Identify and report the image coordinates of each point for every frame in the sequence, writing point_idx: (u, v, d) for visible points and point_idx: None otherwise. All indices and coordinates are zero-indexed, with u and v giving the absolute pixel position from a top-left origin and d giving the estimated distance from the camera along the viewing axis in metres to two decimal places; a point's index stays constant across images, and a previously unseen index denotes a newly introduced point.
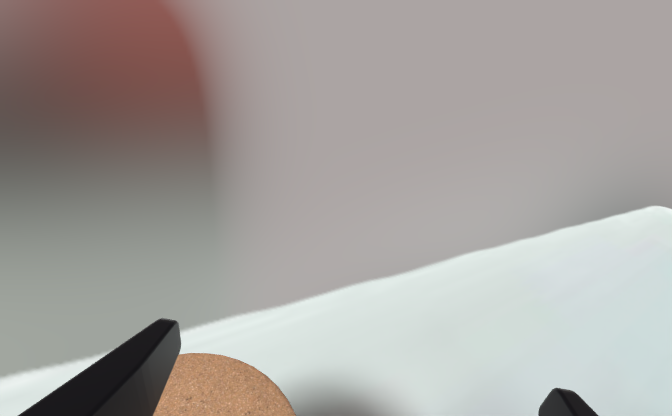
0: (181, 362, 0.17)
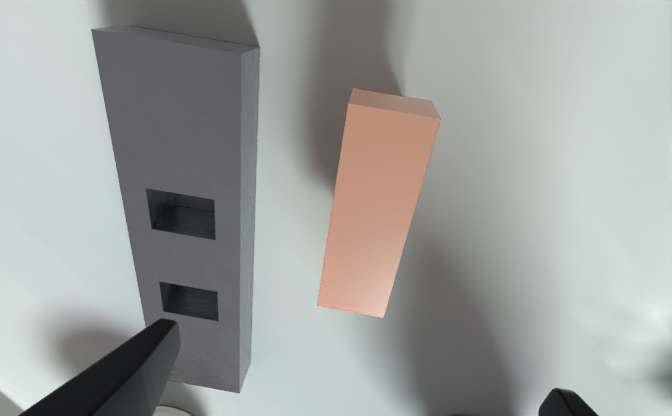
0: None
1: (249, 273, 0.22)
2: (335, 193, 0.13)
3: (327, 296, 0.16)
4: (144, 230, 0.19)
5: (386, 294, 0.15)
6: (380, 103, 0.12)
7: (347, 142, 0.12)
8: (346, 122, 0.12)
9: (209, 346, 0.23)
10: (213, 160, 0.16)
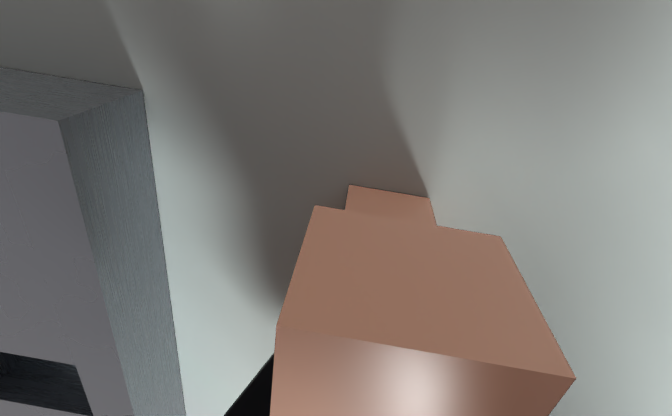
0: None
1: None
2: None
3: None
4: None
5: None
6: (380, 292, 0.04)
7: (286, 402, 0.04)
8: (277, 364, 0.04)
9: None
10: (60, 306, 0.09)
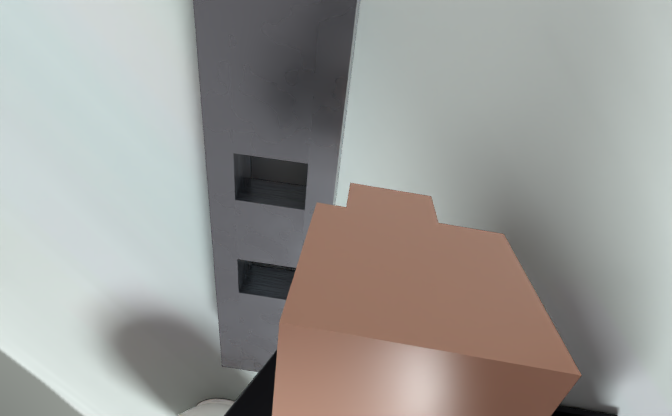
0: None
1: None
2: None
3: None
4: (227, 202, 0.17)
5: None
6: (383, 289, 0.04)
7: (288, 400, 0.04)
8: (280, 361, 0.04)
9: None
10: (312, 117, 0.15)
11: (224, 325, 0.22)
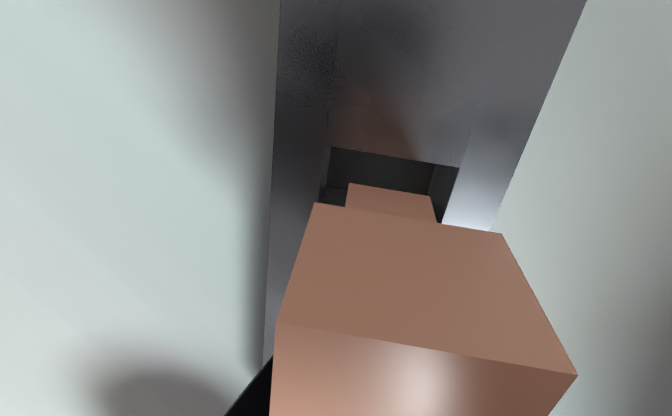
0: None
1: None
2: None
3: None
4: (300, 228, 0.10)
5: None
6: (380, 288, 0.04)
7: (285, 400, 0.04)
8: (277, 361, 0.04)
9: None
10: (486, 82, 0.08)
11: None
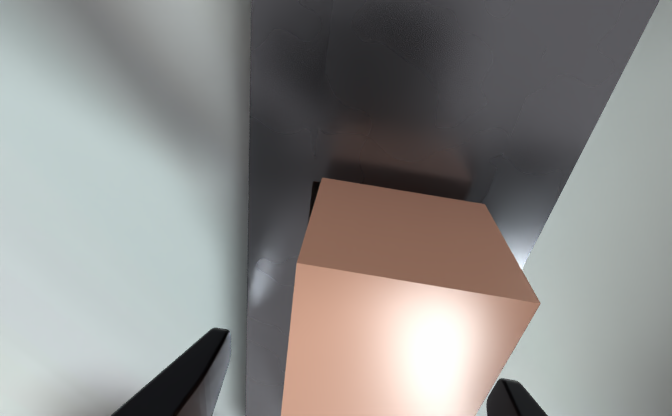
0: None
1: None
2: None
3: None
4: (285, 275, 0.08)
5: None
6: (381, 242, 0.05)
7: (301, 336, 0.05)
8: (296, 299, 0.05)
9: None
10: (518, 105, 0.06)
11: None
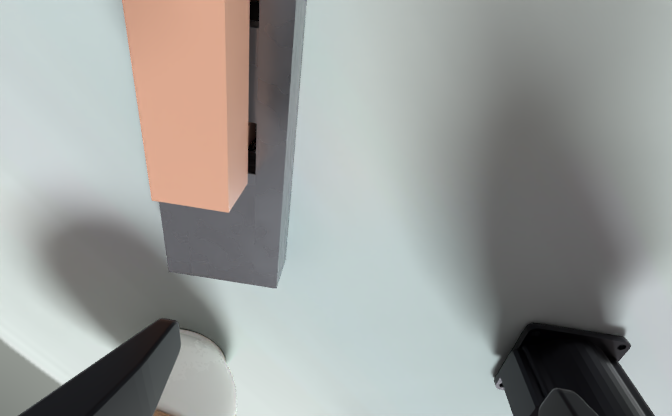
0: None
1: (294, 112, 0.16)
2: (129, 38, 0.11)
3: (159, 186, 0.13)
4: None
5: (223, 180, 0.13)
6: None
7: None
8: None
9: (241, 216, 0.17)
10: None
11: (167, 212, 0.18)
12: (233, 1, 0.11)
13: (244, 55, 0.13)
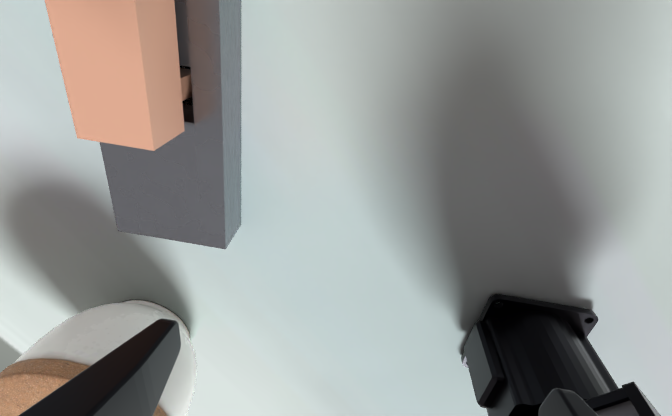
0: None
1: (235, 61, 0.16)
2: None
3: (83, 122, 0.13)
4: None
5: (145, 114, 0.13)
6: None
7: None
8: None
9: (184, 169, 0.17)
10: None
11: (111, 165, 0.18)
12: None
13: None
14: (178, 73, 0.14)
